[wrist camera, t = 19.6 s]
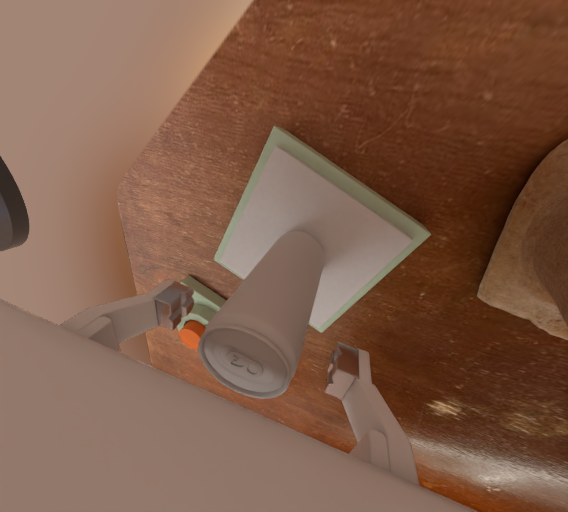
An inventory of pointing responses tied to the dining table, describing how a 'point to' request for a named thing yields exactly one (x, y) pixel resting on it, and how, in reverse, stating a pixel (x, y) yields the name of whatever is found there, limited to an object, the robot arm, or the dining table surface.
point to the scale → (318, 223)
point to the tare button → (192, 333)
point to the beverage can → (265, 320)
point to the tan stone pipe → (535, 250)
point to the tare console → (201, 303)
